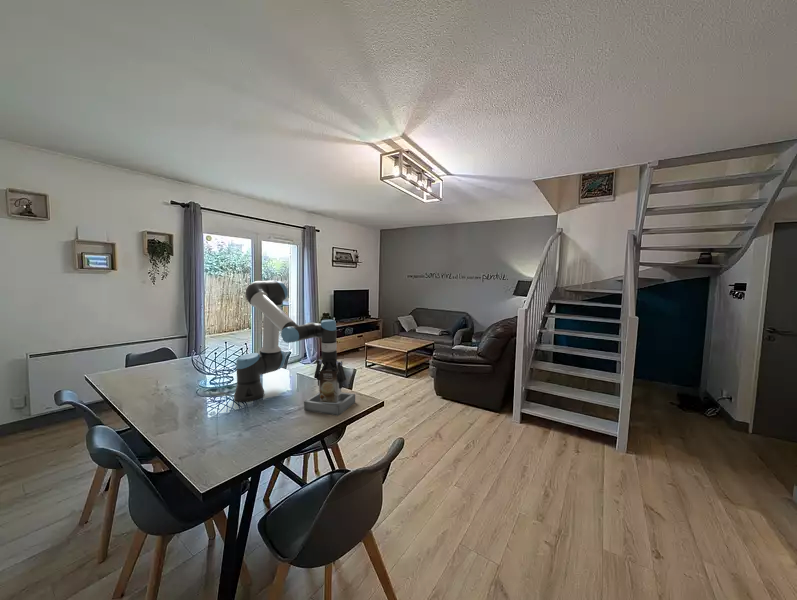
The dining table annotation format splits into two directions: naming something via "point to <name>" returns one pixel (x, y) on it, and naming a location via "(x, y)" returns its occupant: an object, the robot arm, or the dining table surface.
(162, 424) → the dining table surface
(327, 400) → the coffee box
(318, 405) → the gray tray
